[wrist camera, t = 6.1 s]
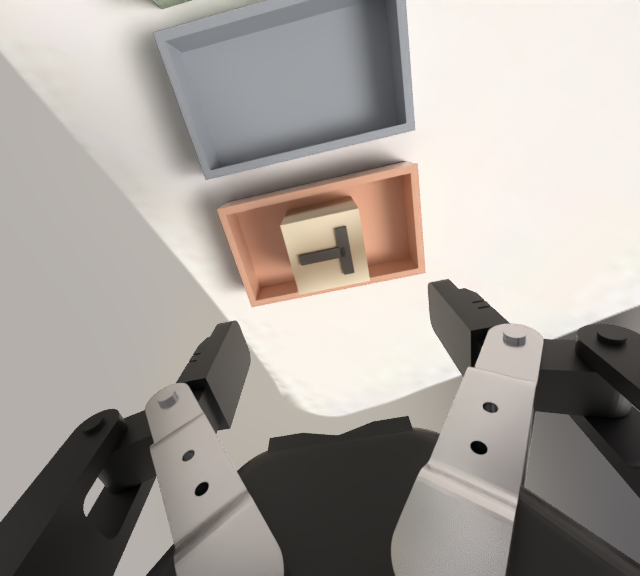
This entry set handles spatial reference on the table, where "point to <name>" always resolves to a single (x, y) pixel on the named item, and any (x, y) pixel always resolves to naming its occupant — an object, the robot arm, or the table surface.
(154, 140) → the table surface
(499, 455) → the robot arm
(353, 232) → the letter cube
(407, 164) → the terracotta tray
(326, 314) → the table surface
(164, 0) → the sage tray
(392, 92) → the slate tray
